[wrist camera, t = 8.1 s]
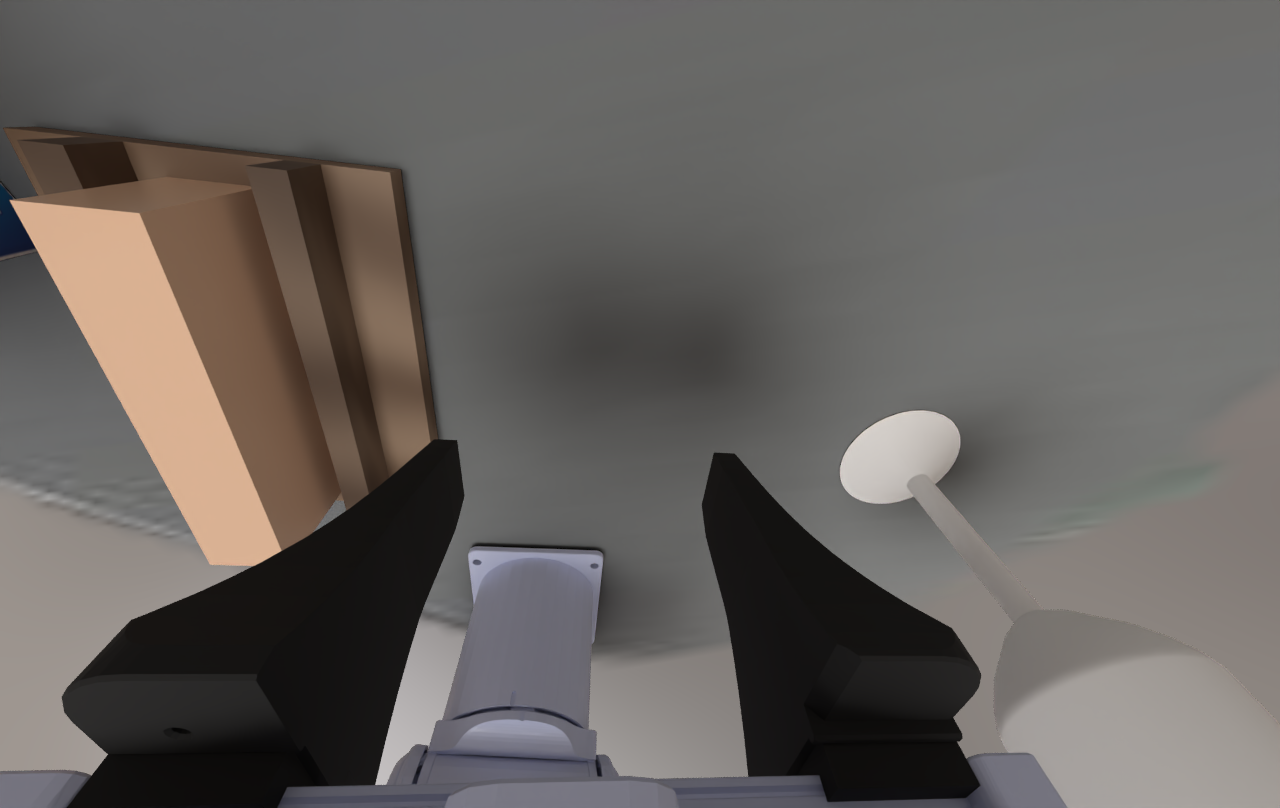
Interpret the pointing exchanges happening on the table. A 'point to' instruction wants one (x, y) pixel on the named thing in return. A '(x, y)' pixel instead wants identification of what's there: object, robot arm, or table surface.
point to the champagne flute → (1086, 666)
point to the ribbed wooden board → (303, 278)
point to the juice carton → (12, 230)
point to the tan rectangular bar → (195, 352)
